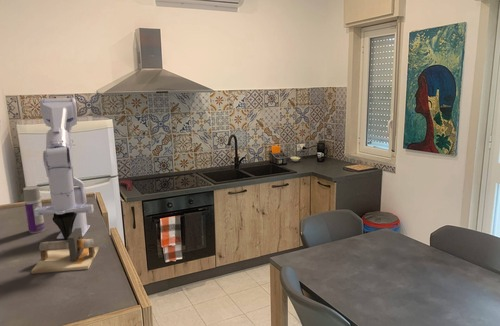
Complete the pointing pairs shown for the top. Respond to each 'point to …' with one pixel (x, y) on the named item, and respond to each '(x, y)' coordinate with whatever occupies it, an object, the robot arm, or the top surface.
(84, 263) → the pipe stand
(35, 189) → the container
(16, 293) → the top surface
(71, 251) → the collar
